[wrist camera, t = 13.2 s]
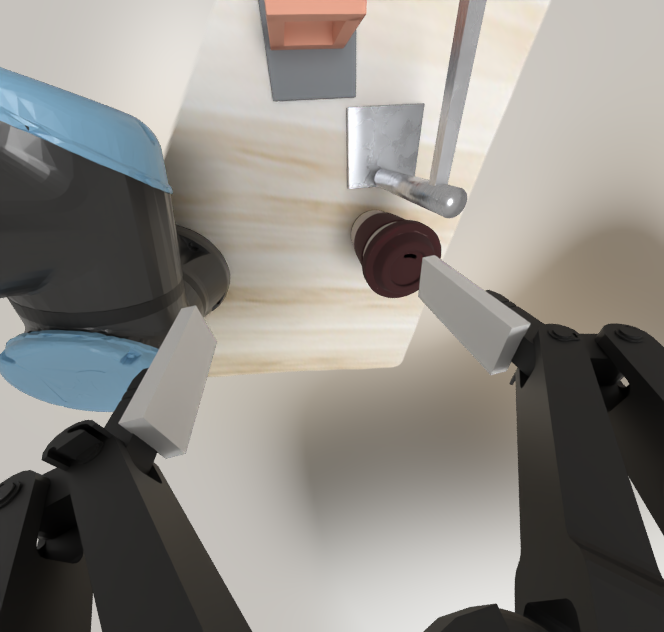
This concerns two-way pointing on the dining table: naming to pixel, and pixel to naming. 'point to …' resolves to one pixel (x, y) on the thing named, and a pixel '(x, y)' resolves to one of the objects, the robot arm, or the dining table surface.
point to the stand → (416, 132)
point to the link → (312, 23)
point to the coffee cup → (392, 251)
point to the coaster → (310, 70)
